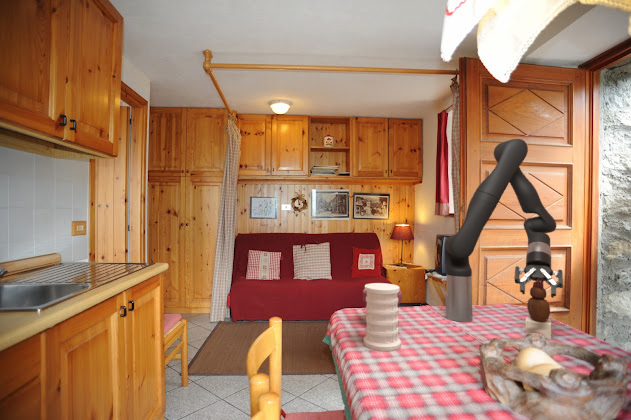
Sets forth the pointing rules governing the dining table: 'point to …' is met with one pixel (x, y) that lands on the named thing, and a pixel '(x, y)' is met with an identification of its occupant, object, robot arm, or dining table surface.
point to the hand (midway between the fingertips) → (537, 294)
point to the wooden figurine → (538, 302)
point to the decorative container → (382, 317)
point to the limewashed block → (538, 327)
